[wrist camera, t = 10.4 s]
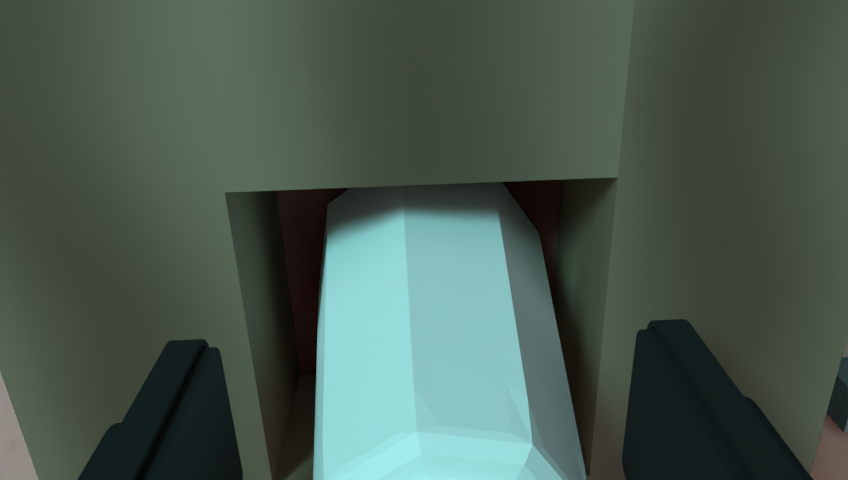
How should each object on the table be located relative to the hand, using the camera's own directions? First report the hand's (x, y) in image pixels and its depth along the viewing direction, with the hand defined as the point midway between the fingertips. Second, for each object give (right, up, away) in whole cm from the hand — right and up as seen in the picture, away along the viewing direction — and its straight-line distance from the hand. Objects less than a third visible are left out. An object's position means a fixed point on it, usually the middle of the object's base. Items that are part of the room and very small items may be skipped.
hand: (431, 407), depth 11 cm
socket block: (0, +2, +5) cm, 6 cm away
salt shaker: (0, +2, +5) cm, 6 cm away
